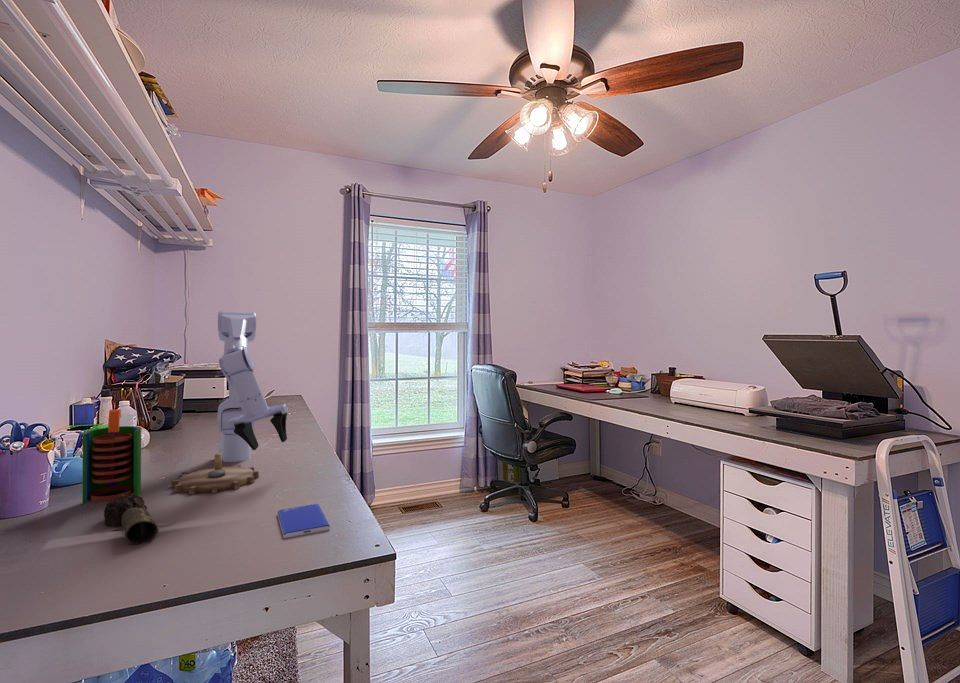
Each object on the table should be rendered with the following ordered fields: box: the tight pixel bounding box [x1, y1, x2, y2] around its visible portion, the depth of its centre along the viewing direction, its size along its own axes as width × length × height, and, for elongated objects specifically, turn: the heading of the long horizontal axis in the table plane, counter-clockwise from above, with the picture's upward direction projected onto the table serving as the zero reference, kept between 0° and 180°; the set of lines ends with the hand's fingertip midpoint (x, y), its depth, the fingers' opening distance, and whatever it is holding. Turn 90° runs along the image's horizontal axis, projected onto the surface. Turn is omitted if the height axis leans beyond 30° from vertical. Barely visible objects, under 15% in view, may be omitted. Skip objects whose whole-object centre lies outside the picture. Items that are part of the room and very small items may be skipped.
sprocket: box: [171, 453, 260, 496], centre depth 112 cm, size 18×18×6 cm
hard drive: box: [277, 503, 331, 539], centre depth 91 cm, size 2×8×12 cm
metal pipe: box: [103, 494, 159, 546], centre depth 86 cm, size 18×7×6 cm, turn 44°
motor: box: [81, 408, 142, 506], centre depth 102 cm, size 10×9×20 cm
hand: (270, 444), depth 118 cm, fingers open, 7 cm apart
